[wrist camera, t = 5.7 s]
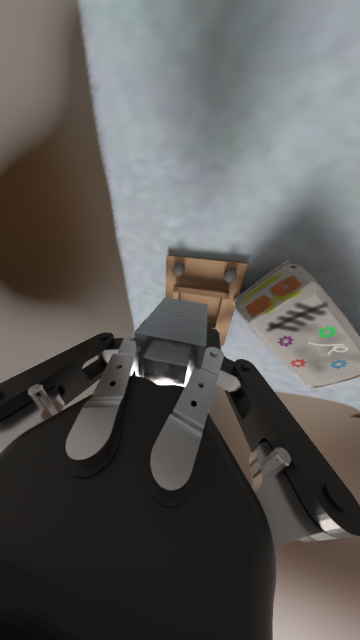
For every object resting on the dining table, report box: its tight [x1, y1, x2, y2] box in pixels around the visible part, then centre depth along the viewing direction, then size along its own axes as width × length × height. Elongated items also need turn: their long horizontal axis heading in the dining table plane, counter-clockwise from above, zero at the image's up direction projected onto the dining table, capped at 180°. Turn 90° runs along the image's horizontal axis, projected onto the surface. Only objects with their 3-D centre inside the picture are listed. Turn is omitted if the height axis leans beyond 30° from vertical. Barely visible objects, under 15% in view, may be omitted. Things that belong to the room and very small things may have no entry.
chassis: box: [166, 255, 248, 346], centre depth 28 cm, size 18×14×3 cm
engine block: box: [135, 298, 208, 387], centre depth 11 cm, size 5×4×7 cm
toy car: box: [233, 261, 360, 388], centre depth 23 cm, size 11×25×10 cm, turn 48°
